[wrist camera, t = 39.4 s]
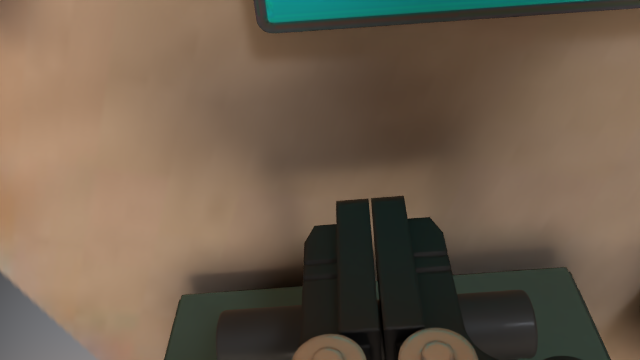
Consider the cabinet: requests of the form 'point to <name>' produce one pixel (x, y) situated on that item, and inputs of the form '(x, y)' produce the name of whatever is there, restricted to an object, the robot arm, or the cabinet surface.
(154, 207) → the cabinet surface
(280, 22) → the smartphone
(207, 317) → the drawer
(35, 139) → the cabinet surface
